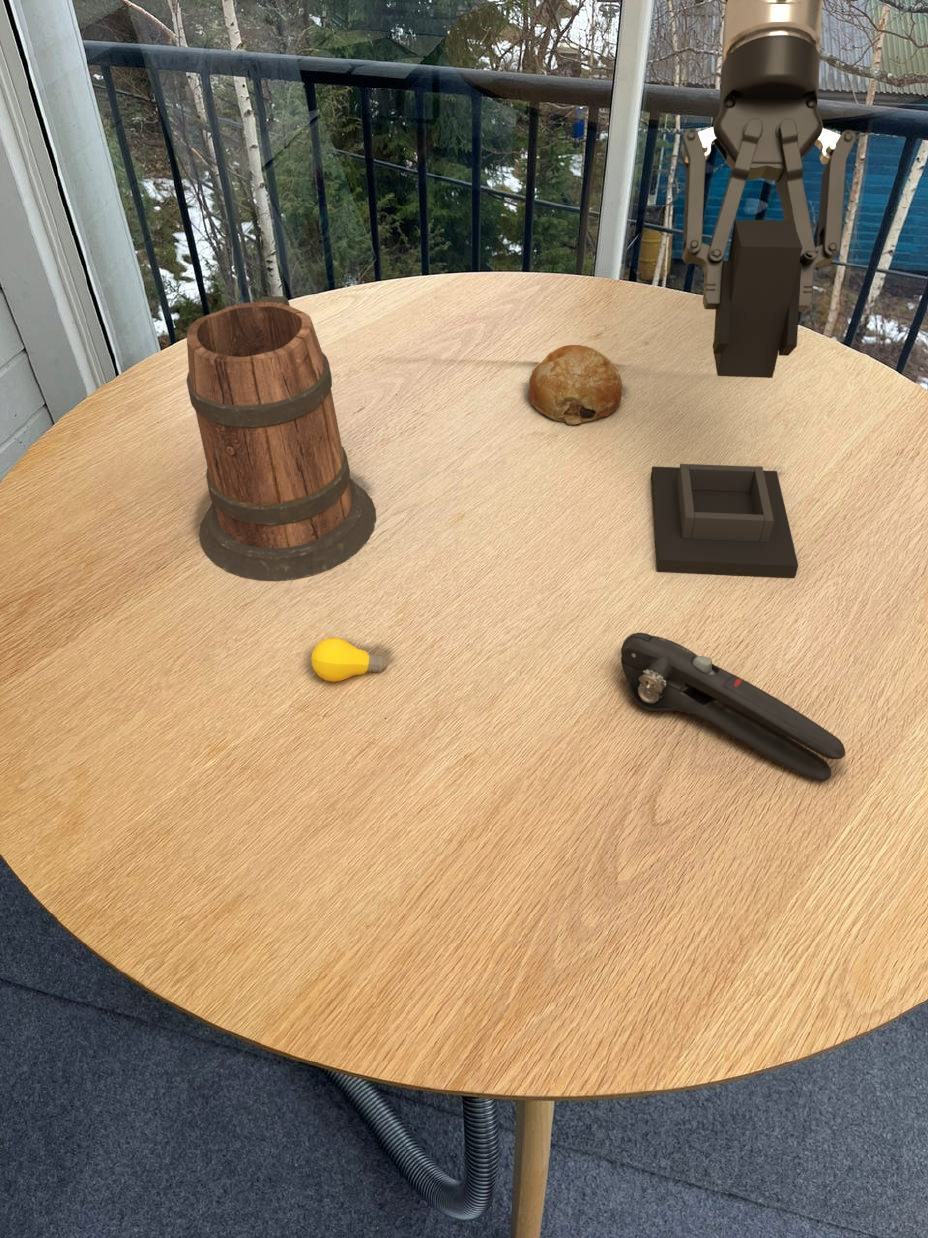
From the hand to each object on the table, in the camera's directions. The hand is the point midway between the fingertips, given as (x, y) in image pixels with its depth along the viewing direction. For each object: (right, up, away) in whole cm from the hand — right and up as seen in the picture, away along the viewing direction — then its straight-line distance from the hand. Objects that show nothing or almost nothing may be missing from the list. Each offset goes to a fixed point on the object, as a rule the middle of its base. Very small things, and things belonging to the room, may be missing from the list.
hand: (754, 349), depth 75 cm
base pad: (+1, -13, +13) cm, 18 cm away
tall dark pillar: (0, 0, +5) cm, 5 cm away
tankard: (-40, -10, +17) cm, 45 cm away
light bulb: (-32, -26, +1) cm, 42 cm away
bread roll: (-11, +2, +29) cm, 31 cm away
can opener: (-4, -30, -4) cm, 30 cm away
